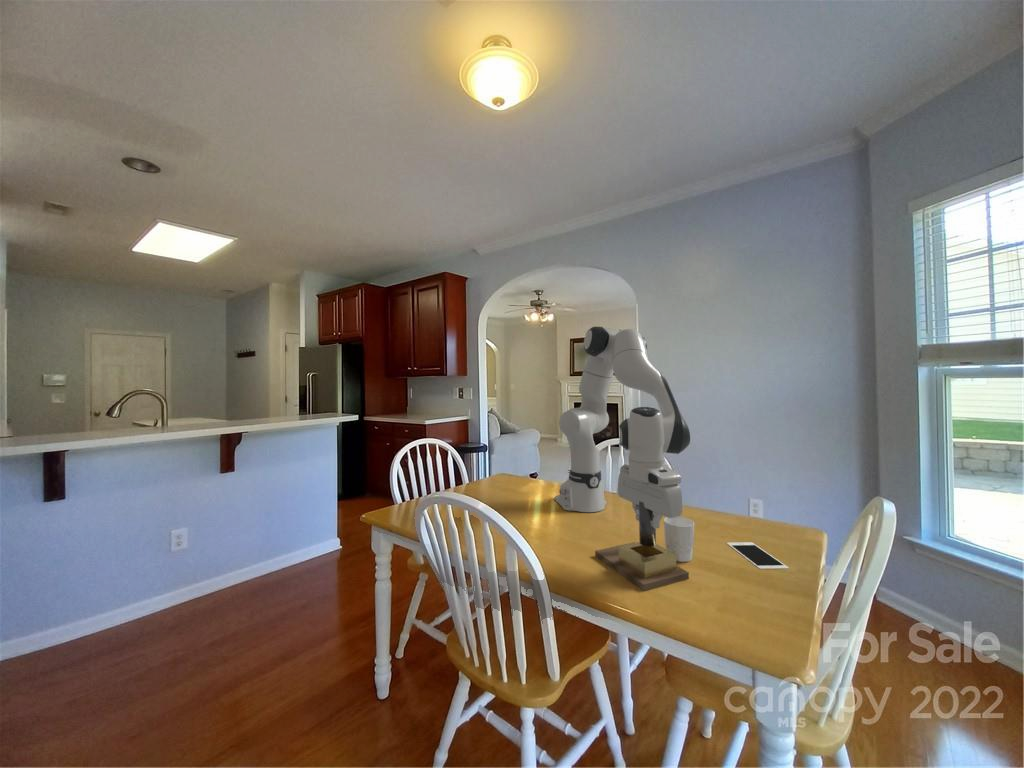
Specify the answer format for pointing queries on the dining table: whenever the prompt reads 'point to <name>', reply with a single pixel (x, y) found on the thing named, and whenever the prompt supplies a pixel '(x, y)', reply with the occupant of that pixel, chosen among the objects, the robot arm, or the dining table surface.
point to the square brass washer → (647, 559)
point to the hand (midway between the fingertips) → (647, 523)
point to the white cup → (679, 537)
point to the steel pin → (646, 527)
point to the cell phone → (757, 556)
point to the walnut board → (612, 559)
